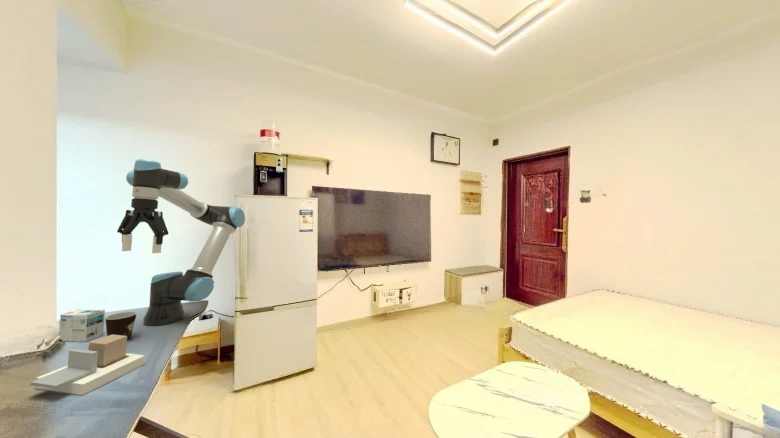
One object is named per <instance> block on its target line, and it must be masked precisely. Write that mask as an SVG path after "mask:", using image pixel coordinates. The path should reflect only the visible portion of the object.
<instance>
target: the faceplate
mask: <svg viewBox="0 0 780 438" xmlns="http://www.w3.org/2000/svg"><path fill="white" fill-rule="evenodd" d="M145 361H146V355H145V354H144V355H143V354H137V353H129V352H128V353H127V352H126V357H124V358H122V360H120V361H118V362H116V363H113V364H111V365H109V366H107V367H104V368H97V370H96V371H95V372H93V373H91V374H88V375H86V376H84V377H82V378H79V379H77V380H75V381H73V382H70V383H68V384H66V385H64V386H61V387H59V388H57V389H54V388H47V387H40V386H34V389H36V390H38V389H39V390H42V391H44V390H45V391H51V392H56V393H64V394H65V393H66V394H72V395H78V396H84V395H85V394H88V393H89V392H92V391H94V390H96V389H98V388H100V387H102V386H104V385H105V384H109V383H110V382H112V381H114V380H115V379H118V378H120V377H121V376H124V375H126V374H128V373H130V372H131V371H132V372H133V371H134V370H135V369H138V368H140V367H142V366H143V365H145V363H146V362H145ZM67 367H68V364H67V365H65V366H63V367H60V368H57V369H55V370H53V371H50V372H48V373H45V374H42V375H39V376H37V377H35V380H37V379H40V378H42V377H45V376H47V375H50V374H52V373H55V372H57V371H60V370H62V369H65V368H67Z"/></svg>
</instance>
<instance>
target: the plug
mask: <svg viewBox="0 0 780 438" xmlns="http://www.w3.org/2000/svg"><path fill="white" fill-rule="evenodd" d="M127 344H128V341H127V336H122V335H113V334H112V335H109V336H107V335H106V336H104V337H100V338H97V339H95V340H94V339H93V340H91V341H89V342H88V348H87V350H89V351H97V352H98V357H97V368H104V367H107V366H109V365H111V364H113V363H116V362H118V361H120V360H122V358H124V357H126V353H127V346H128V345H127Z"/></svg>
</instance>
